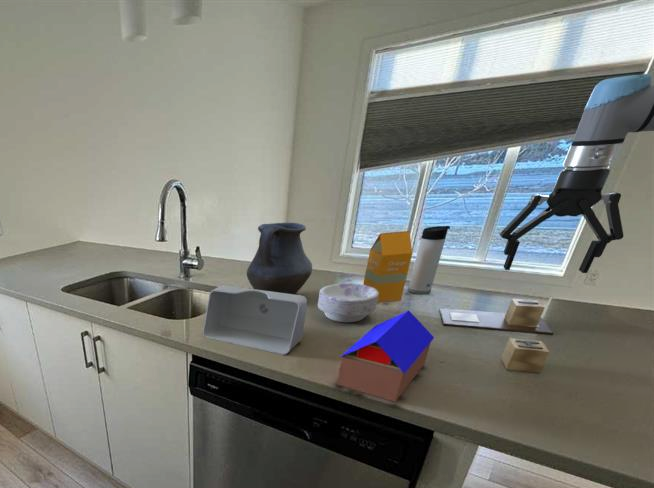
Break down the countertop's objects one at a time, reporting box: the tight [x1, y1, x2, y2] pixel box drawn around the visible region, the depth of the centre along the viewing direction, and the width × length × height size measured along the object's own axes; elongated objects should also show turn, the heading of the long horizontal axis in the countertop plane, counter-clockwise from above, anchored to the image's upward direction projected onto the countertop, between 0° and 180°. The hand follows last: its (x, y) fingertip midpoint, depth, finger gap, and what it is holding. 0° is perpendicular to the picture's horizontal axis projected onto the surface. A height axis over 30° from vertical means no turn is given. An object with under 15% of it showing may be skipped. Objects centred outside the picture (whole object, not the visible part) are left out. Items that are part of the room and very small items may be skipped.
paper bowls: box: [317, 282, 379, 323], centre depth 115 cm, size 15×15×8 cm
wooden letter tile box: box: [505, 298, 546, 326], centre depth 102 cm, size 5×5×5 cm
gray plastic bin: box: [202, 284, 308, 356], centre depth 109 cm, size 25×16×12 cm, turn 51°
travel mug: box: [407, 225, 451, 295], centre depth 125 cm, size 6×7×20 cm
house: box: [336, 310, 435, 402], centre depth 85 cm, size 12×20×12 cm, turn 135°
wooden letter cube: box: [500, 337, 550, 374], centre depth 85 cm, size 5×5×5 cm
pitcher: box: [246, 222, 313, 295], centre depth 129 cm, size 21×22×25 cm
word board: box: [438, 307, 554, 336], centre depth 106 cm, size 22×12×1 cm, turn 62°
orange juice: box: [362, 230, 413, 303], centre depth 123 cm, size 8×9×20 cm
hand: (543, 270), depth 94 cm, fingers open, 13 cm apart
